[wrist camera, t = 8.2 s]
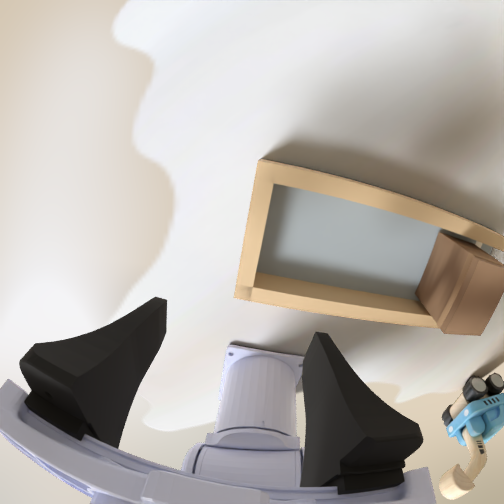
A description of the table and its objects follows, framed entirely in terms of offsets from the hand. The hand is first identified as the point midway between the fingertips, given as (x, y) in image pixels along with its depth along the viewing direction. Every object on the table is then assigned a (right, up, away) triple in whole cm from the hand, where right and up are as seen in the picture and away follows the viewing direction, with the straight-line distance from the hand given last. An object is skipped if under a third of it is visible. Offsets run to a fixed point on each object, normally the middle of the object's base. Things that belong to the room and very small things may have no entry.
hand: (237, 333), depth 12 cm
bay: (+12, +4, +8) cm, 15 cm away
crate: (+18, +2, +7) cm, 20 cm away
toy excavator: (+32, -18, +15) cm, 40 cm away
